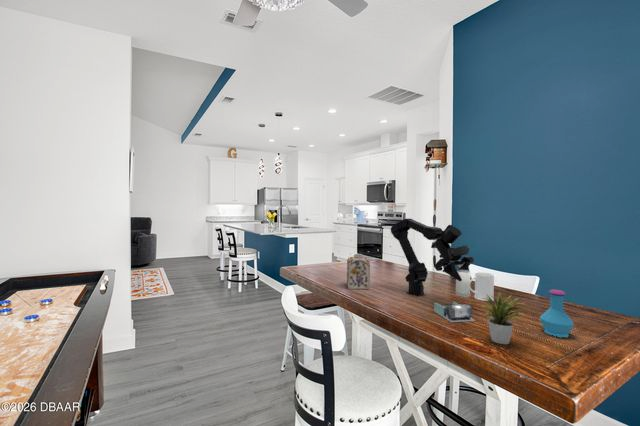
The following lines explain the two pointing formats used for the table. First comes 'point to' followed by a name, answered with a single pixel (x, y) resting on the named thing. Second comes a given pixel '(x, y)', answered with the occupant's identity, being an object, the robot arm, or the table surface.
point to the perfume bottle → (556, 316)
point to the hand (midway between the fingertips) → (465, 280)
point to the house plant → (501, 319)
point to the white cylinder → (463, 283)
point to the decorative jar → (358, 272)
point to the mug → (483, 286)
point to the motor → (454, 312)
